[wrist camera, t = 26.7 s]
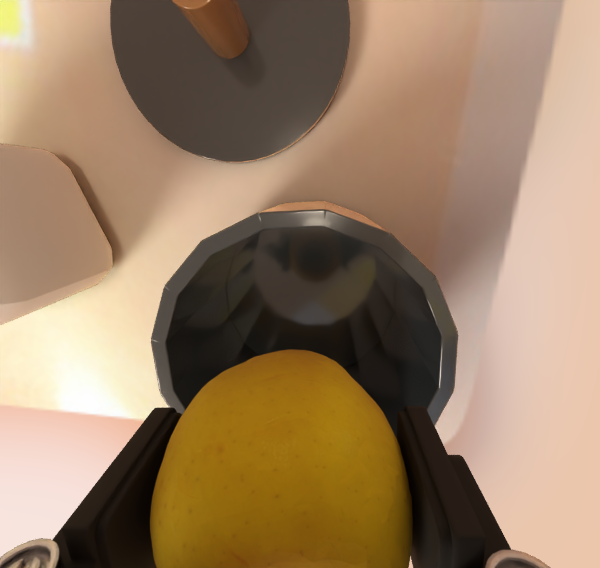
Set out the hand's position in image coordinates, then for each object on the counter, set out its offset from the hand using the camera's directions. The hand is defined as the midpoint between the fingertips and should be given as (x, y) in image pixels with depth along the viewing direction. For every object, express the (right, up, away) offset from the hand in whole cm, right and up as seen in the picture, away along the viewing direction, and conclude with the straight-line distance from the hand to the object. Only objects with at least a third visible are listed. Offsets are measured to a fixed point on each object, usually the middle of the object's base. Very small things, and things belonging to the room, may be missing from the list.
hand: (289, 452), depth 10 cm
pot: (+1, +4, +15) cm, 16 cm away
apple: (0, +1, +3) cm, 3 cm away
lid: (-4, +20, +11) cm, 23 cm away
